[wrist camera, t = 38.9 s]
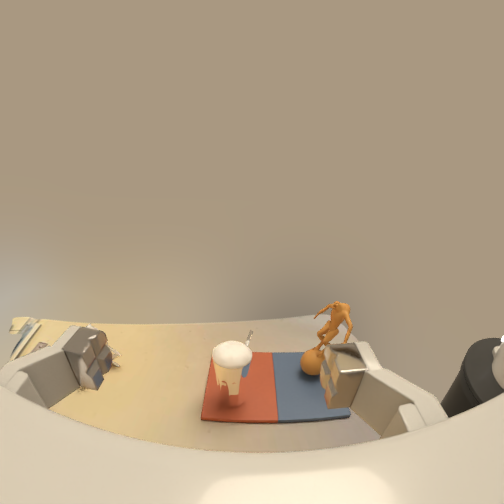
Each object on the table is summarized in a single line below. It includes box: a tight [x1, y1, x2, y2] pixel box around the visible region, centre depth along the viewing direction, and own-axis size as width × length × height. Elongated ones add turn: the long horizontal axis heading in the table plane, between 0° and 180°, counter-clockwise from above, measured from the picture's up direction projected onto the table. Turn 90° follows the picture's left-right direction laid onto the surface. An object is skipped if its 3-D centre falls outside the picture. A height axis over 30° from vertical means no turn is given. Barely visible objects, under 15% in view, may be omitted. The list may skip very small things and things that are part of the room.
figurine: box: [300, 301, 353, 375], centre depth 36 cm, size 8×6×12 cm
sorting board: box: [201, 352, 351, 423], centre depth 35 cm, size 19×14×1 cm
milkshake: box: [212, 330, 253, 407], centre depth 31 cm, size 4×5×10 cm
